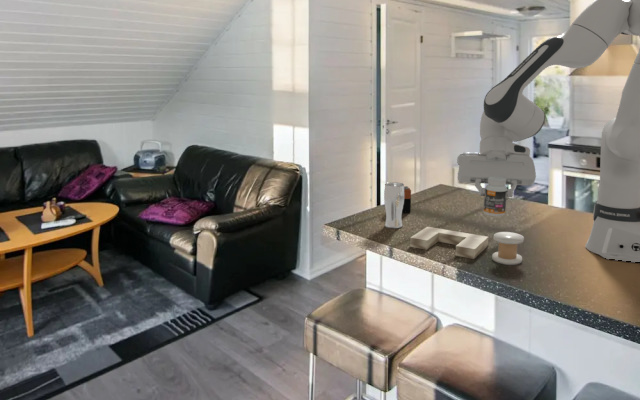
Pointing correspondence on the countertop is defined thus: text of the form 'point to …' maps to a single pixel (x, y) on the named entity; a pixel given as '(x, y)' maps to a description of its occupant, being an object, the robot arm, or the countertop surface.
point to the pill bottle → (495, 196)
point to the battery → (407, 200)
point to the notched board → (450, 241)
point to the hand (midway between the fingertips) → (495, 195)
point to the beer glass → (394, 204)
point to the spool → (507, 248)
